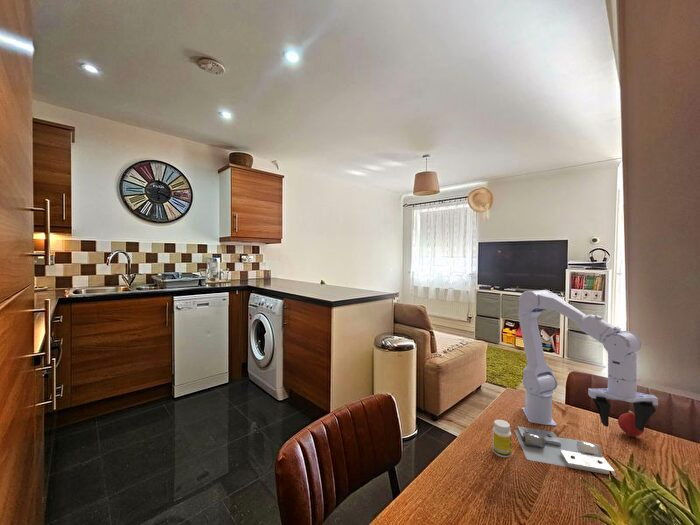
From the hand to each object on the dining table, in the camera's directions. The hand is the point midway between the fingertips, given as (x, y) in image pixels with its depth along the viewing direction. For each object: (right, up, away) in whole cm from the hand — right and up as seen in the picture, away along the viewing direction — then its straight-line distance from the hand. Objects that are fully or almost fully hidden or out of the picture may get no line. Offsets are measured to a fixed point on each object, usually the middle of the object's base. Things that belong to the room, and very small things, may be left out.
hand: (621, 426), depth 79 cm
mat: (-14, -9, +4) cm, 17 cm away
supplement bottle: (-31, -10, +4) cm, 32 cm away
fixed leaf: (-17, -9, +8) cm, 21 cm away
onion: (+13, -10, +11) cm, 20 cm away
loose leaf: (-10, -9, 0) cm, 14 cm away
